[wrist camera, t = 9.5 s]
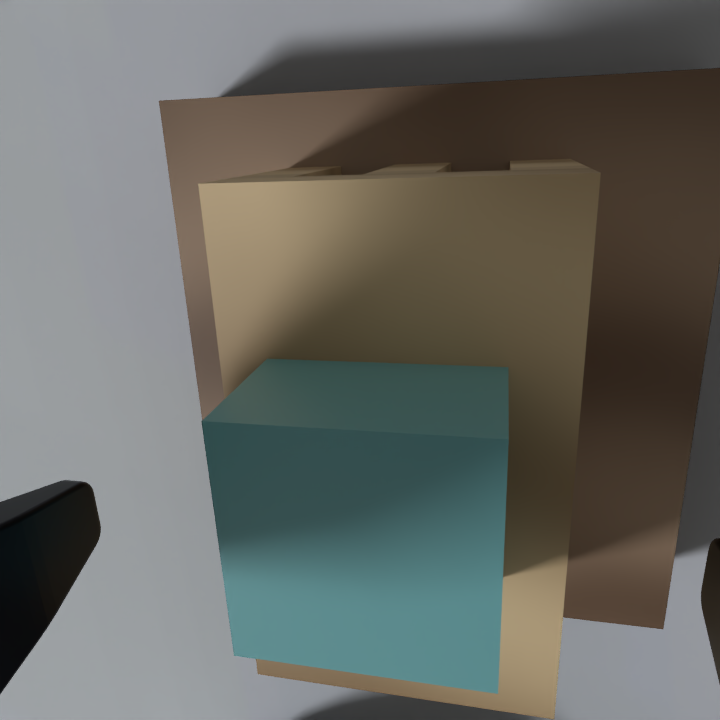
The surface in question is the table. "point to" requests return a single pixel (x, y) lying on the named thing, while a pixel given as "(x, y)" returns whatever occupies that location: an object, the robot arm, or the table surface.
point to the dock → (609, 275)
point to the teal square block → (365, 517)
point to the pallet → (431, 340)
